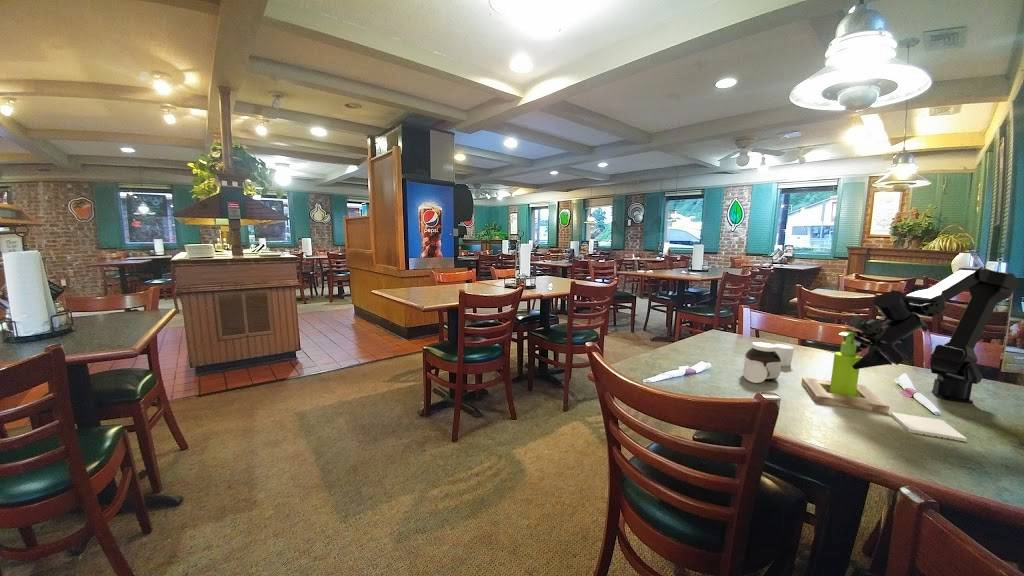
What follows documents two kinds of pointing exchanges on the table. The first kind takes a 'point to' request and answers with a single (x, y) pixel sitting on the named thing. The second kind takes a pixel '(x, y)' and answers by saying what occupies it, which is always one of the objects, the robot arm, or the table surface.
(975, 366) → the robot arm
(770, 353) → the spread jar
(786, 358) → the white cup
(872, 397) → the plate
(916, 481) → the table surface
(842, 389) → the soap dispenser
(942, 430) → the pad
